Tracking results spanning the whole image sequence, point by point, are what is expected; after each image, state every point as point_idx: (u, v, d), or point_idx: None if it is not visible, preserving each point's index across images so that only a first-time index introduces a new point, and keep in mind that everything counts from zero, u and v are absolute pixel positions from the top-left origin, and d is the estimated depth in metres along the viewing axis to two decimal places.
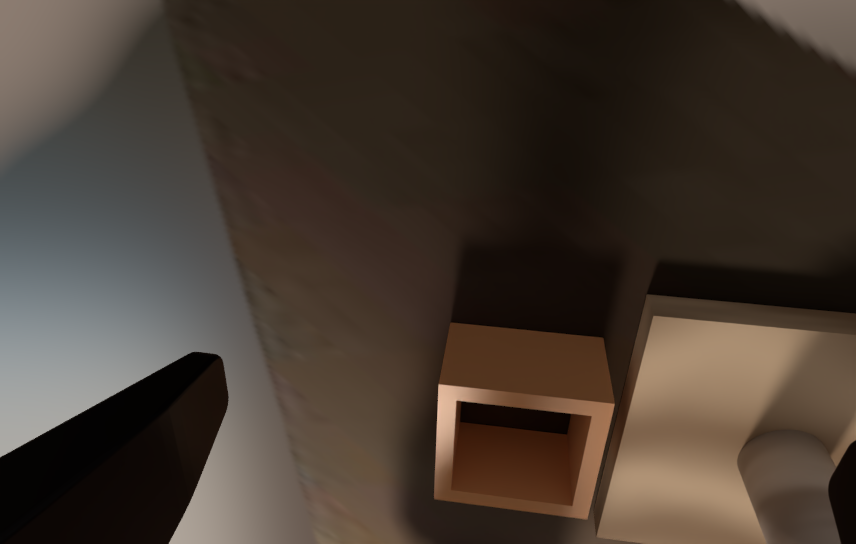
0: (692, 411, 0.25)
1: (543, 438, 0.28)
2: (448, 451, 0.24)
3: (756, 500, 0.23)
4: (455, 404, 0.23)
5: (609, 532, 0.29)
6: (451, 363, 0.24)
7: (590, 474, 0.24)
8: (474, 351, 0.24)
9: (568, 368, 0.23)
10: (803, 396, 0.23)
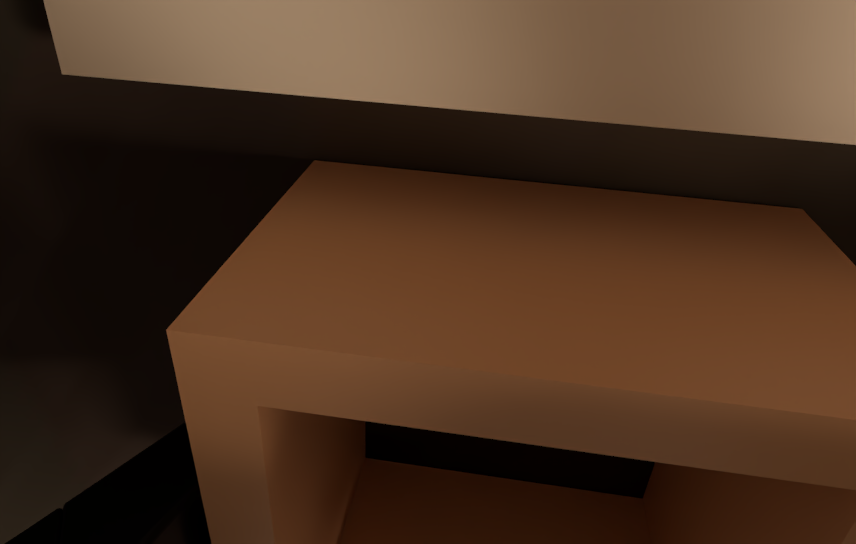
0: None
1: None
2: None
3: None
4: None
5: None
6: None
7: (629, 418, 0.05)
8: None
9: None
10: None
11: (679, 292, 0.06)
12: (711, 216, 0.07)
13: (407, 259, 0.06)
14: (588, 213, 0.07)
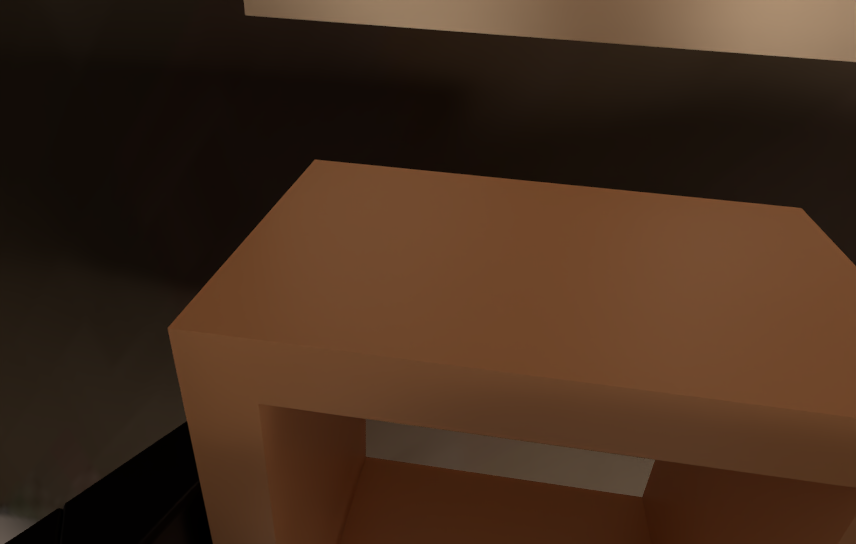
0: None
1: None
2: None
3: None
4: None
5: None
6: None
7: (628, 416, 0.05)
8: None
9: None
10: None
11: (677, 291, 0.06)
12: (710, 215, 0.07)
13: (407, 258, 0.06)
14: (588, 212, 0.07)
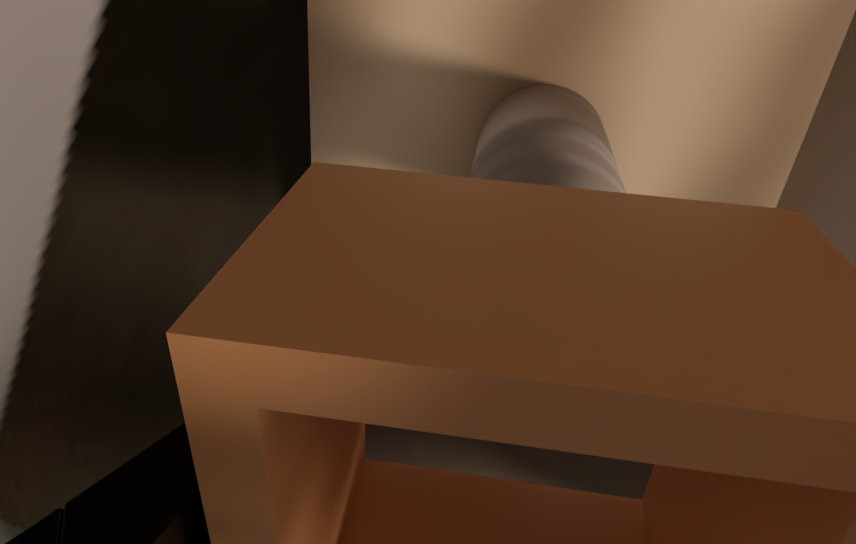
0: None
1: None
2: None
3: None
4: None
5: None
6: None
7: (627, 420, 0.05)
8: None
9: None
10: (415, 140, 0.17)
11: (676, 294, 0.06)
12: (710, 218, 0.07)
13: (406, 261, 0.06)
14: (587, 215, 0.07)
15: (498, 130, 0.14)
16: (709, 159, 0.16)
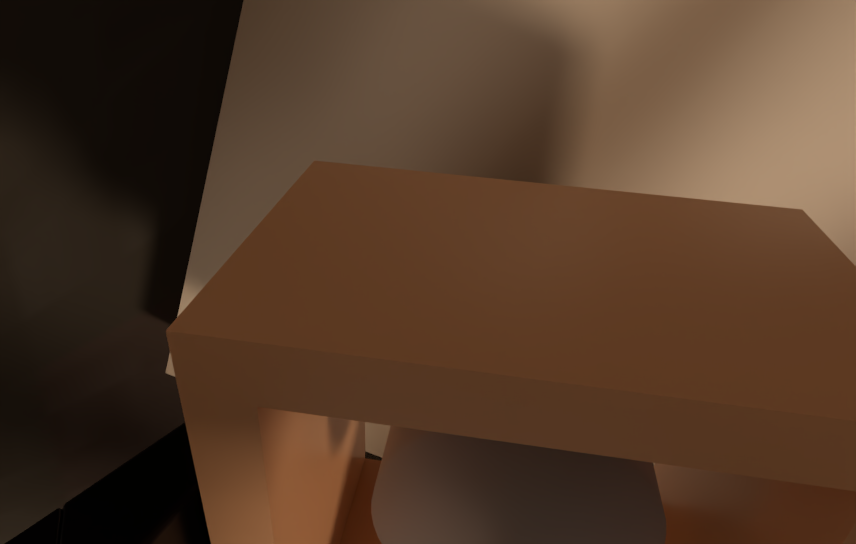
0: None
1: None
2: None
3: None
4: None
5: None
6: None
7: (629, 419, 0.05)
8: None
9: None
10: None
11: (680, 293, 0.06)
12: (711, 216, 0.07)
13: (407, 259, 0.06)
14: (588, 213, 0.07)
15: None
16: None
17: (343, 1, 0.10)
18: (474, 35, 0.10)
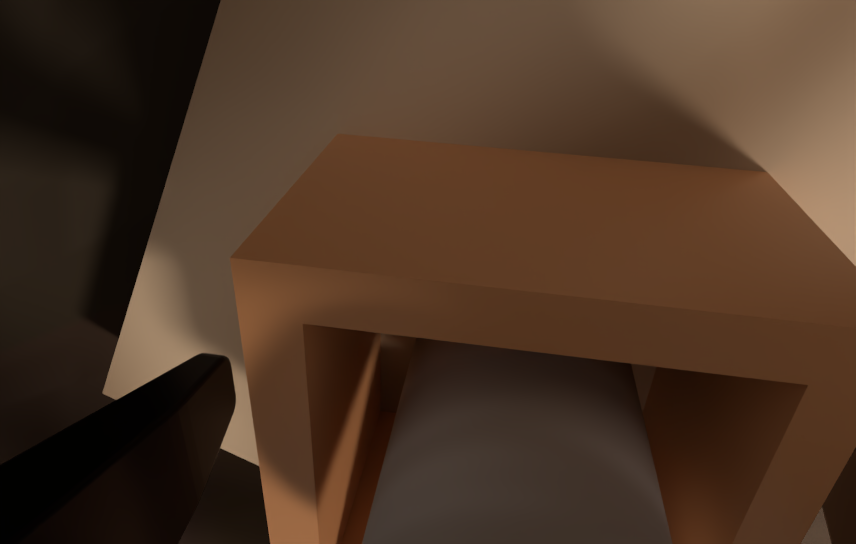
0: None
1: None
2: None
3: None
4: None
5: None
6: None
7: (608, 325, 0.06)
8: None
9: None
10: None
11: (653, 234, 0.07)
12: (686, 177, 0.08)
13: (424, 209, 0.07)
14: (579, 175, 0.08)
15: None
16: None
17: None
18: (500, 53, 0.08)
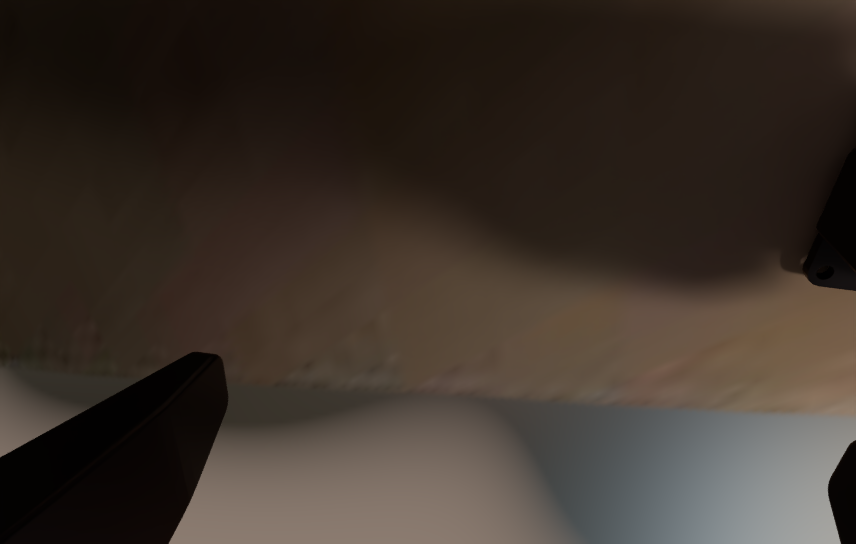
0: None
1: None
2: None
3: None
4: None
5: None
6: None
7: None
8: None
9: None
10: None
11: None
12: None
13: None
14: None
15: None
16: None
17: None
18: None
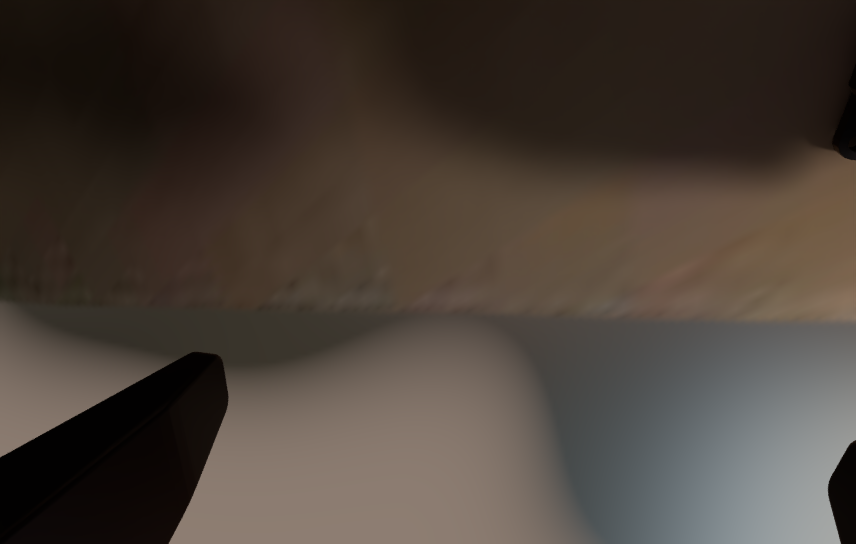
0: None
1: None
2: None
3: None
4: None
5: None
6: None
7: None
8: None
9: None
10: None
11: None
12: None
13: None
14: None
15: None
16: None
17: None
18: None
